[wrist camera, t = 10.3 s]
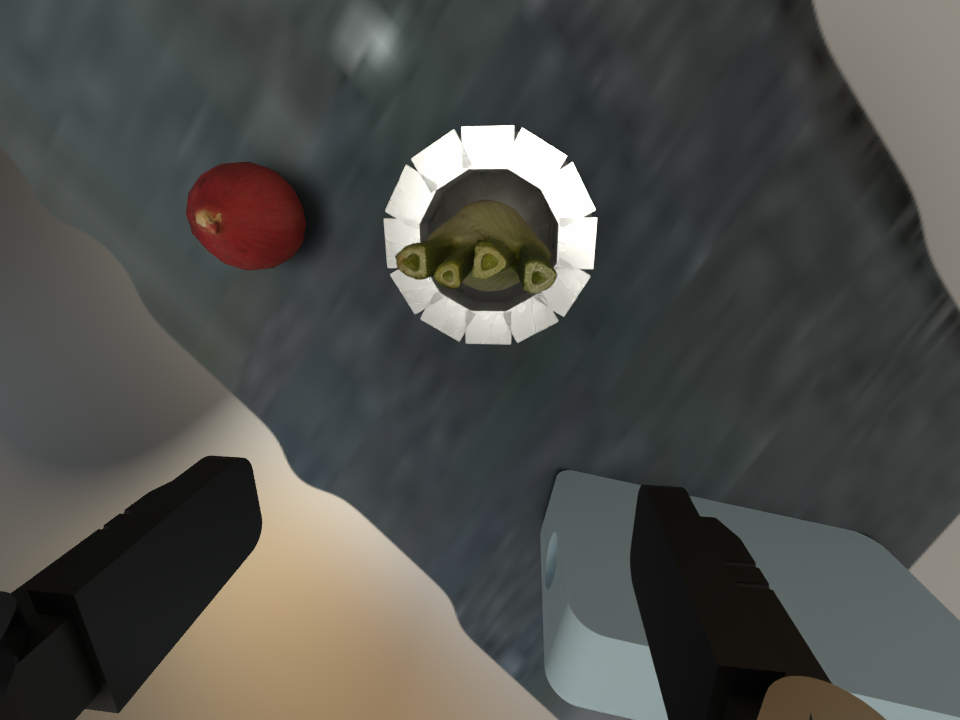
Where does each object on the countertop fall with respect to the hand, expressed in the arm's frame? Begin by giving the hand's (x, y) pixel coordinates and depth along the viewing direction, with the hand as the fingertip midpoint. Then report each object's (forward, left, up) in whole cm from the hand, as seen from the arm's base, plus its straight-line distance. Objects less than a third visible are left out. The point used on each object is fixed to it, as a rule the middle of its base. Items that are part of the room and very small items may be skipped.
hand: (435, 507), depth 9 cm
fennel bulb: (+3, -1, -20) cm, 21 cm away
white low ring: (+3, -2, -21) cm, 22 cm away
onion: (+11, +9, -21) cm, 26 cm away
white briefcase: (-23, -5, -21) cm, 32 cm away
